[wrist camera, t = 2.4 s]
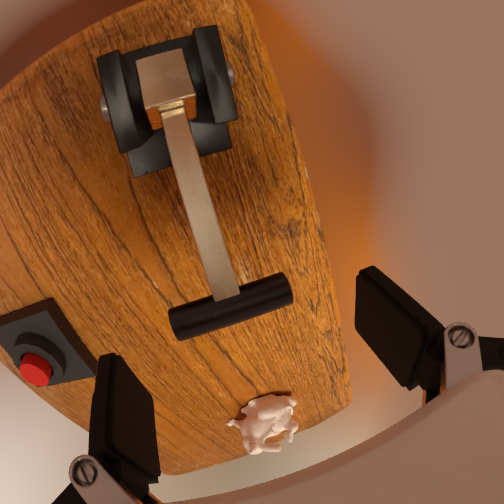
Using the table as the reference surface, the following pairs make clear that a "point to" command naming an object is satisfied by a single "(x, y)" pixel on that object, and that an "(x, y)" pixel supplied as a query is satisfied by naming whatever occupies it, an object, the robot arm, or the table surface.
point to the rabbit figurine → (266, 422)
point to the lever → (200, 206)
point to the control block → (47, 341)
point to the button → (35, 369)
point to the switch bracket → (132, 112)
